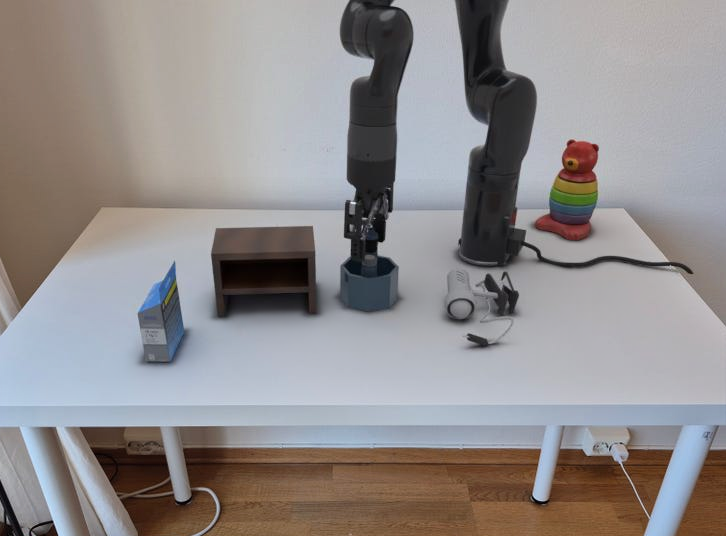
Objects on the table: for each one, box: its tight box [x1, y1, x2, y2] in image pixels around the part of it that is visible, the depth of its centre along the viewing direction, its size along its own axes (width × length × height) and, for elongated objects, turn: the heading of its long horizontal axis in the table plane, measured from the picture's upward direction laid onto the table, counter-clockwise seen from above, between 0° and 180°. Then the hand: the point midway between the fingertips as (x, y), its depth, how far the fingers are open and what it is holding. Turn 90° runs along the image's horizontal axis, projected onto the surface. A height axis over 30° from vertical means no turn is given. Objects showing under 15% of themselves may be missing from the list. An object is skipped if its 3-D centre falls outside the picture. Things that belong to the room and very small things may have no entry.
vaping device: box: [361, 226, 379, 278], centre depth 116 cm, size 3×5×12 cm, turn 174°
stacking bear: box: [534, 139, 600, 241], centre depth 141 cm, size 11×10×18 cm
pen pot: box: [339, 254, 400, 313], centre depth 118 cm, size 9×9×6 cm
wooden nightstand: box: [210, 225, 318, 318], centre depth 115 cm, size 16×10×11 cm, turn 95°
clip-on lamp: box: [443, 266, 520, 347], centre depth 112 cm, size 12×6×18 cm
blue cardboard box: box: [136, 260, 185, 363], centre depth 103 cm, size 9×4×12 cm, turn 178°
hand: (368, 250), depth 115 cm, fingers open, 8 cm apart
